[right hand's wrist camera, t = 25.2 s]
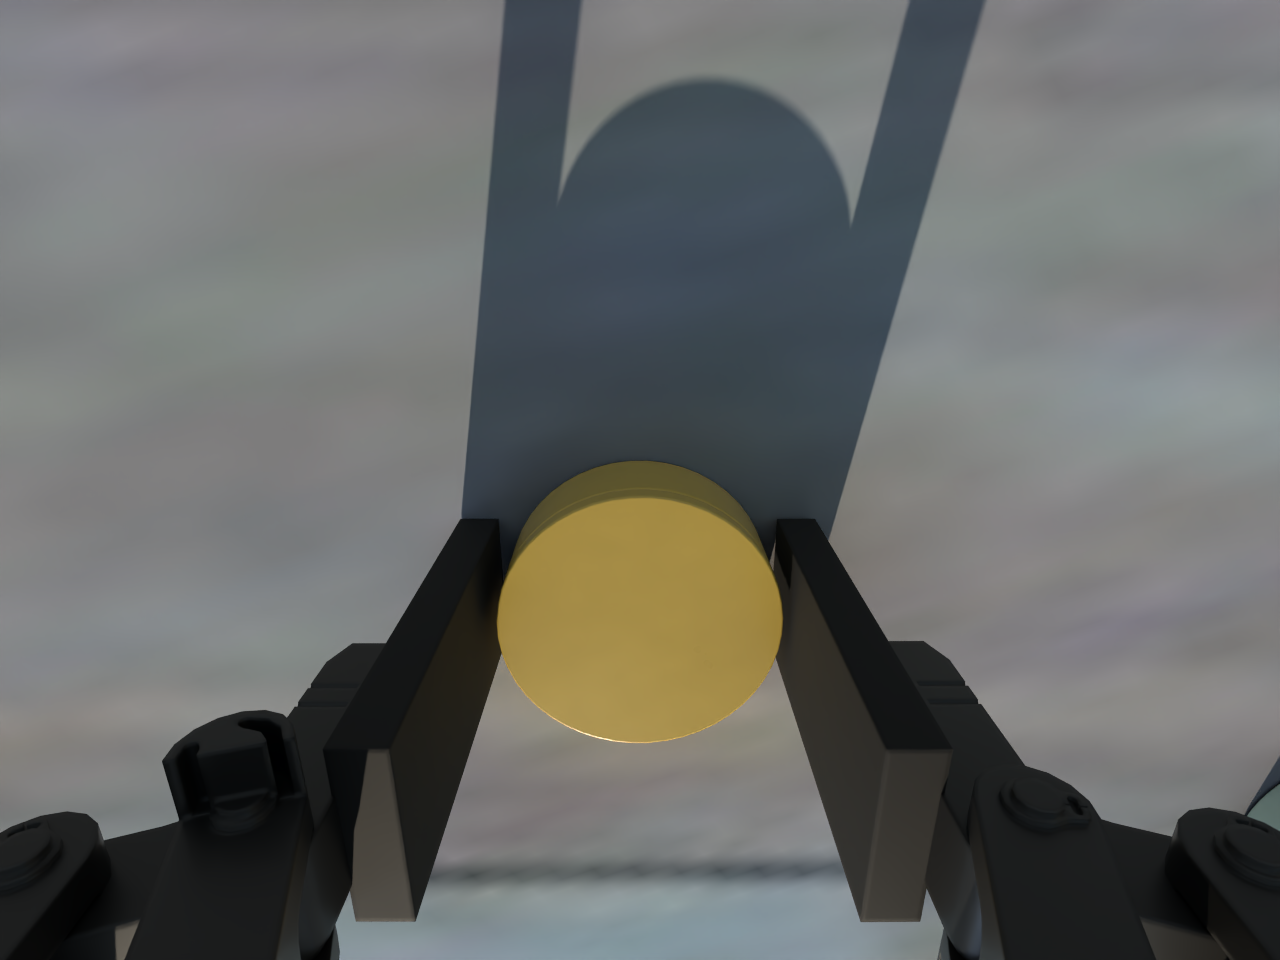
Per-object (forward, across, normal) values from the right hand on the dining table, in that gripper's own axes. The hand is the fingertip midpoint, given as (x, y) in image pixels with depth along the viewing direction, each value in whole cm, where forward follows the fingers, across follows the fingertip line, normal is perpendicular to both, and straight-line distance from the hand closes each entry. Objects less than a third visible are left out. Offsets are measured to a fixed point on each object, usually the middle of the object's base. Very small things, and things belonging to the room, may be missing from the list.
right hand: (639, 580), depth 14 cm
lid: (-1, 0, 0) cm, 1 cm away
